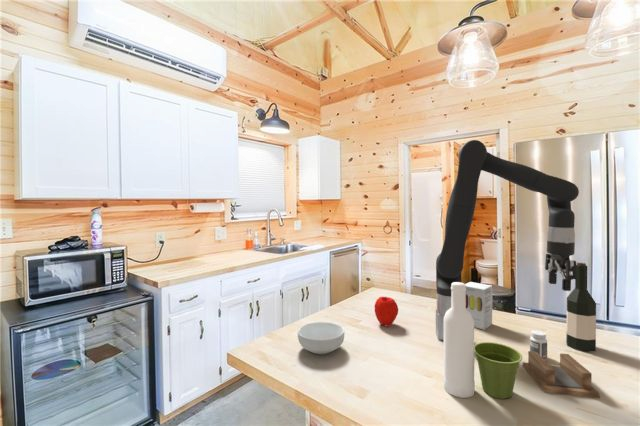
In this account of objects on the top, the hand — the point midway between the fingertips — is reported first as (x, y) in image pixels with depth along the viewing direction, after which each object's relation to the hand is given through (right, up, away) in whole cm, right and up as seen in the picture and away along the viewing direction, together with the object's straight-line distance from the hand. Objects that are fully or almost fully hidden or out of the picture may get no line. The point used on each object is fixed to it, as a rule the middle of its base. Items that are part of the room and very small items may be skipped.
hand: (559, 287), depth 107 cm
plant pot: (-34, -24, -21) cm, 46 cm away
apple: (-54, -23, +27) cm, 65 cm away
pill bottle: (-9, -23, -3) cm, 25 cm away
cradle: (-13, -23, -16) cm, 31 cm away
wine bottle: (+11, -23, +4) cm, 25 cm away
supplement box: (-15, -22, +26) cm, 37 cm away
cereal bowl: (-82, -24, +6) cm, 86 cm away
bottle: (-44, -24, -20) cm, 54 cm away
